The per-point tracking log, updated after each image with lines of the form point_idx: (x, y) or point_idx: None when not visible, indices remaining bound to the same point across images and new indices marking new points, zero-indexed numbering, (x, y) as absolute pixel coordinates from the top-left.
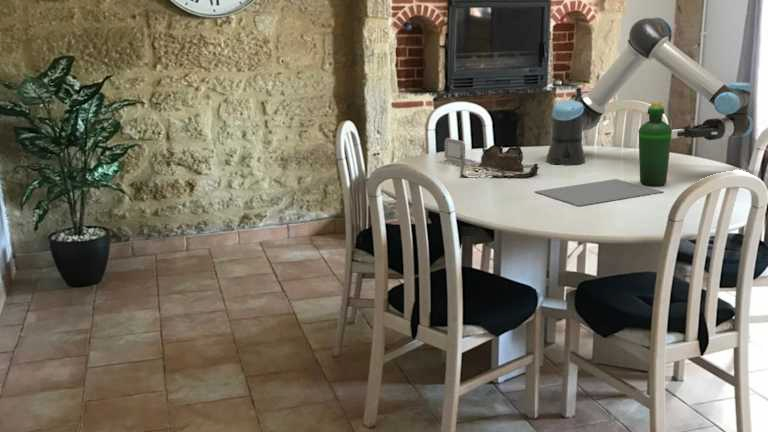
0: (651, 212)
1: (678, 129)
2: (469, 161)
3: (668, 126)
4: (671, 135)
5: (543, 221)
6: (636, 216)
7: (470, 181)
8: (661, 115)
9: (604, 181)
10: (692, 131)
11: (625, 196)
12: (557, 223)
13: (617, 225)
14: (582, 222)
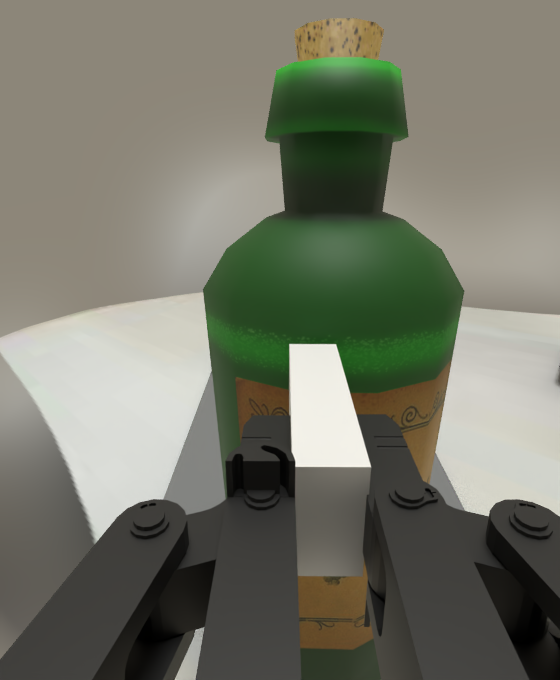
0: (63, 391)
1: (336, 419)
2: None
3: (234, 256)
4: (289, 395)
5: (194, 307)
6: (80, 366)
7: (529, 327)
8: (280, 153)
9: (437, 478)
10: (136, 514)
11: (207, 417)
12: (171, 310)
13: (83, 335)
14: (144, 322)
